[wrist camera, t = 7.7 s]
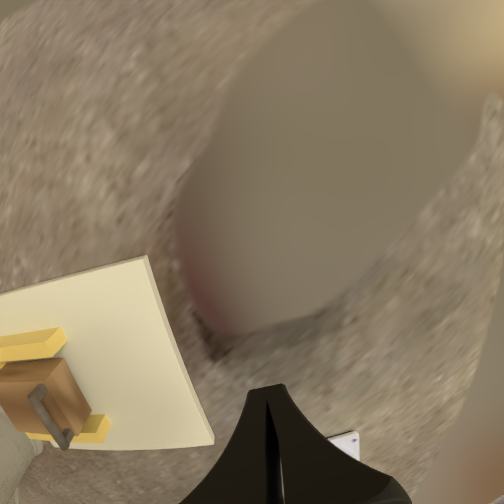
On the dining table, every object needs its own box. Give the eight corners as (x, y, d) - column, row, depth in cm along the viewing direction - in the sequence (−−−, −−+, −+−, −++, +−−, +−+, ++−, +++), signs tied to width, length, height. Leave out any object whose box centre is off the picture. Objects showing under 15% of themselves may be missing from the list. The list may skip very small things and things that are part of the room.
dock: (214, 436, 24) (212, 465, 20) (57, 440, 24) (45, 462, 20) (146, 254, 20) (130, 269, 16) (-18, 298, 20) (-41, 312, 17)
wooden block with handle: (94, 405, 21) (69, 452, 16) (36, 405, 21) (8, 444, 16) (67, 353, 20) (32, 396, 15) (10, 359, 20) (-25, 394, 15)
